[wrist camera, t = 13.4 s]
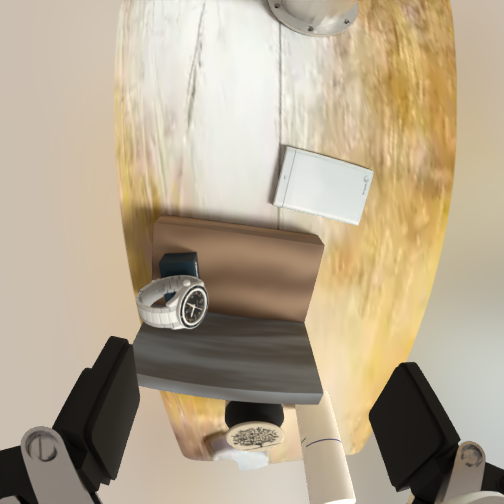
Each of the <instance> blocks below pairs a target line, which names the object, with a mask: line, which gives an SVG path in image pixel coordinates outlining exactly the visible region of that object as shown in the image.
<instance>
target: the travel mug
mask: <svg viewBox="0 0 504 504" xmlns="http://www.w3.org/2000/svg"><path fill="white" fill-rule="evenodd" d="M283 421H284V413H283V405H282V404H271V403H256V402H243V401H232V400H226V407H225V422H226V424H227V426H228V427H229V430H228V431H227V433H226V440H227V442H228V443H229V444H230V445H231V446H232V447H234V448H236V449H239V450H243V451H250V452H257V451H265V450H269V449H272V448H274V447H276V446H278V445H279V444H280V443H281V442H282V441H283V439H284V432H283V430H282V429H281V428H280V427H281V425H282V423H283Z"/></svg>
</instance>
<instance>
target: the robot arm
mask: <svg viewBox="0 0 504 504" xmlns="http://www.w3.org/2000/svg"><path fill="white" fill-rule="evenodd" d="M358 1H359V0H268V3H269V6H270V9H271V11H272V12H273V14H274V15H275V16H276V17H277V19H278V20H279V21H281V22H282V23H283V24H284V25H285V26H287V27H289V28H290V29H292V30H294V31H296V32H299V33H301V34H305V35H309V36H315V37H329V36H334V35H337V34H340V33H342V32H344V31H345V30H347V29H348V28H349V27H350V26H351V25H352V24H353V23H354V21H355V20H356V18H357V15H358ZM275 7H278V8H275ZM345 23H346V24H345ZM308 29H309V30H311V31H308ZM139 401H140V393H139V387H138V380H137V373H136V366H135V358H134V349H133V345H131V344H129V343H128V340H127V339H124V338H119V337H115V336H111V337H110V338H109V339H108V341H107V343H106V344H105V346H104V348H103V349H102V351H101V353H100V355H99V356H98V358H97V360H96V362H95V363H94V365H93V367H92V369H91V368H85V369H84V370H83V371H82V373H81V375H80V376H79V378H78V380H77V382H76V384H75V386H74V387H73V389H72V391H71V393H70V394H69V396H68V398H67V400H66V402H65V404H64V406H63V407H62V410H61V411H60V413H59V415H58V417H57V419H56V421H55V423H54V425H53V427H52V429H51V428H48V427H43V426H40V427H34V428H32V429H30V430H28V431H27V432H26V433H25V434H24V436H23V438H22V440H21V445H20V446H16V447H12V448H9V449H5V450H1V451H0V504H103V503H102V501H101V500H100V498H99V496H98V494H97V492H96V491H98V490H99V487H100V483H102V484H106V485H109V483H110V480H111V479H112V480H115V479H116V477H117V473H118V470H119V467H120V464H121V460H122V457H123V453H124V450H125V447H126V443H127V440H128V437H129V434H130V430H131V427H132V424H133V421H134V418H135V415H136V412H137V409H138V406H139ZM369 420H370V423H371V426H372V429H373V432H374V434H375V437H376V440H377V443H378V446H379V449H380V452H381V455H382V457H383V460H384V463H385V466H386V469H387V472H388V475H389V479H390V482H391V484H392V486H394V487H395V488H396V491H397V492H400V491H403V490H406V489H409V488H410V489H411V495H410V497H409V499H408V501H407V503H406V504H504V470H503V469H501V468H498V467H496V466H494V465H491V464H489V463H487V462H485V453H484V451H483V449H482V448H481V447H480V446H479V445H478V444H476V443H475V442H471V441H467V442H464V443H462V444H461V445H460V446H459V445H458V442H459V441H460V440H461V439H460V437H459V435H458V434H457V432H456V430H455V428H454V426H453V424H452V422H451V421H450V419H449V417H448V415H447V414H446V412H445V410H444V408H443V406H442V405H441V403H440V401H439V400H438V398H437V396H436V394H435V393H434V391H433V389H432V388H431V386H430V384H429V383H428V381H427V379H426V378H425V376H424V374H423V373H422V371H421V370H420V368H419V366H418V365H417V364H416V363H415V362H405V363H401V364H399V366H398V367H396V368H395V370H394V371H393V373H392V375H391V377H390V379H389V380H388V382H387V384H386V386H385V387H384V389H383V391H382V392H381V394H380V396H379V397H378V399H377V401H376V402H375V404H374V405H373V407H372V409H371V410H370V412H369Z"/></svg>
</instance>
